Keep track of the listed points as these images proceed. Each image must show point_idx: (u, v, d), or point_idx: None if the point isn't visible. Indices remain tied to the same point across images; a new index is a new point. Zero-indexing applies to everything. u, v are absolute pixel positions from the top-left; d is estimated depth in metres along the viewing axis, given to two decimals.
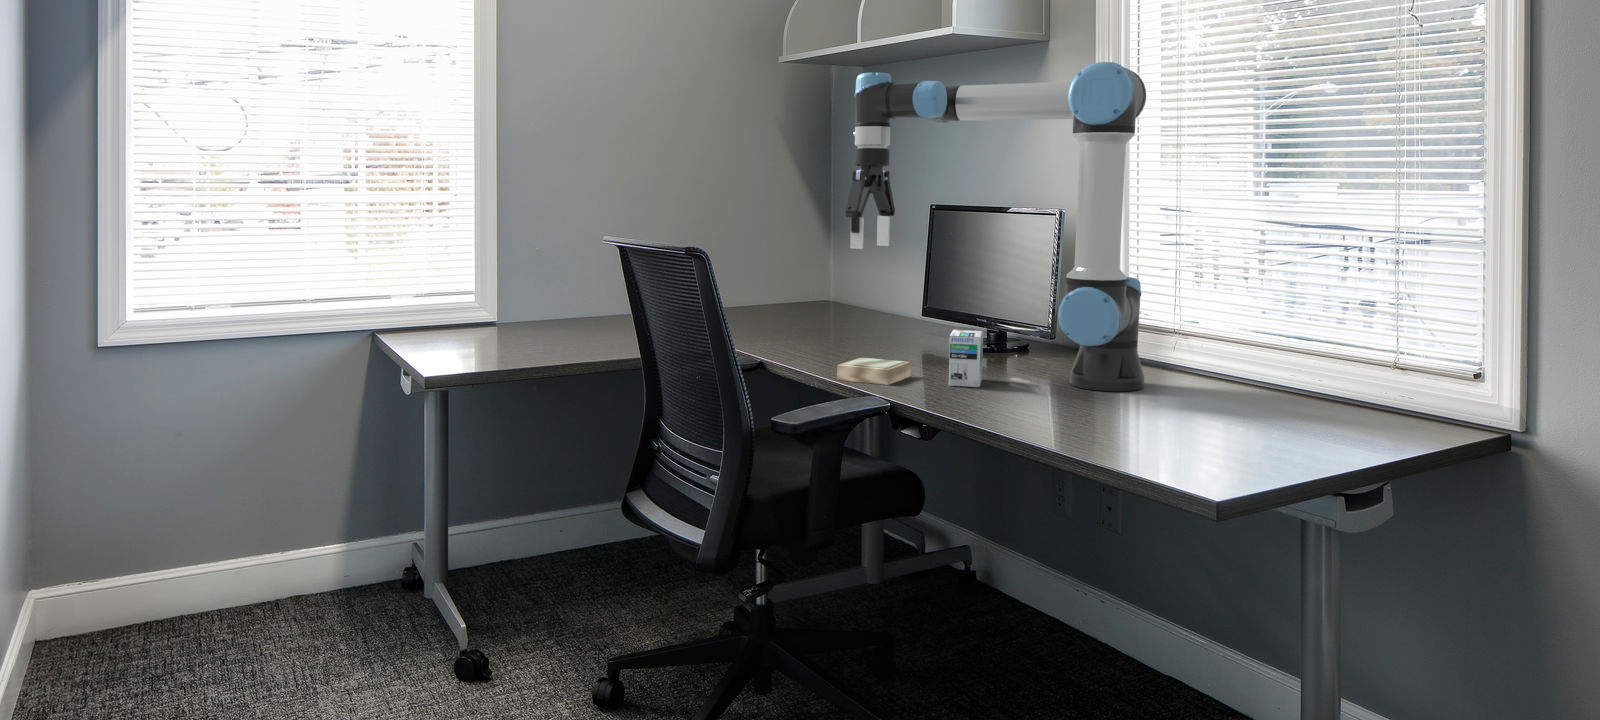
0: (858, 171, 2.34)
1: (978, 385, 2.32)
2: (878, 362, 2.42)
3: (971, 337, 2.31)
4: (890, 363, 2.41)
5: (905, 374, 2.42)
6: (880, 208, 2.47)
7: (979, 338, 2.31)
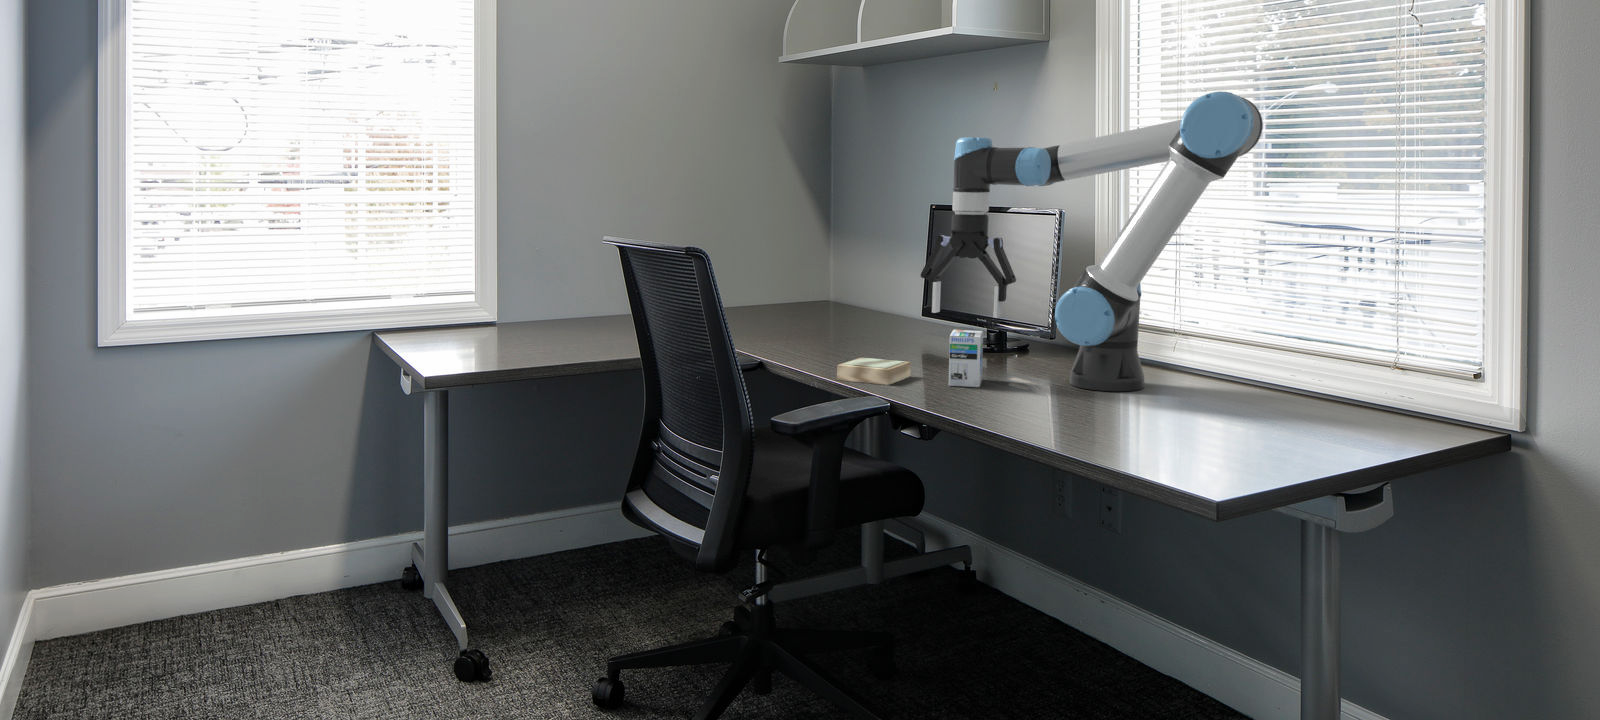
0: None
1: (978, 385, 2.32)
2: (878, 362, 2.42)
3: (971, 337, 2.31)
4: (890, 363, 2.41)
5: (905, 374, 2.42)
6: None
7: (979, 338, 2.31)
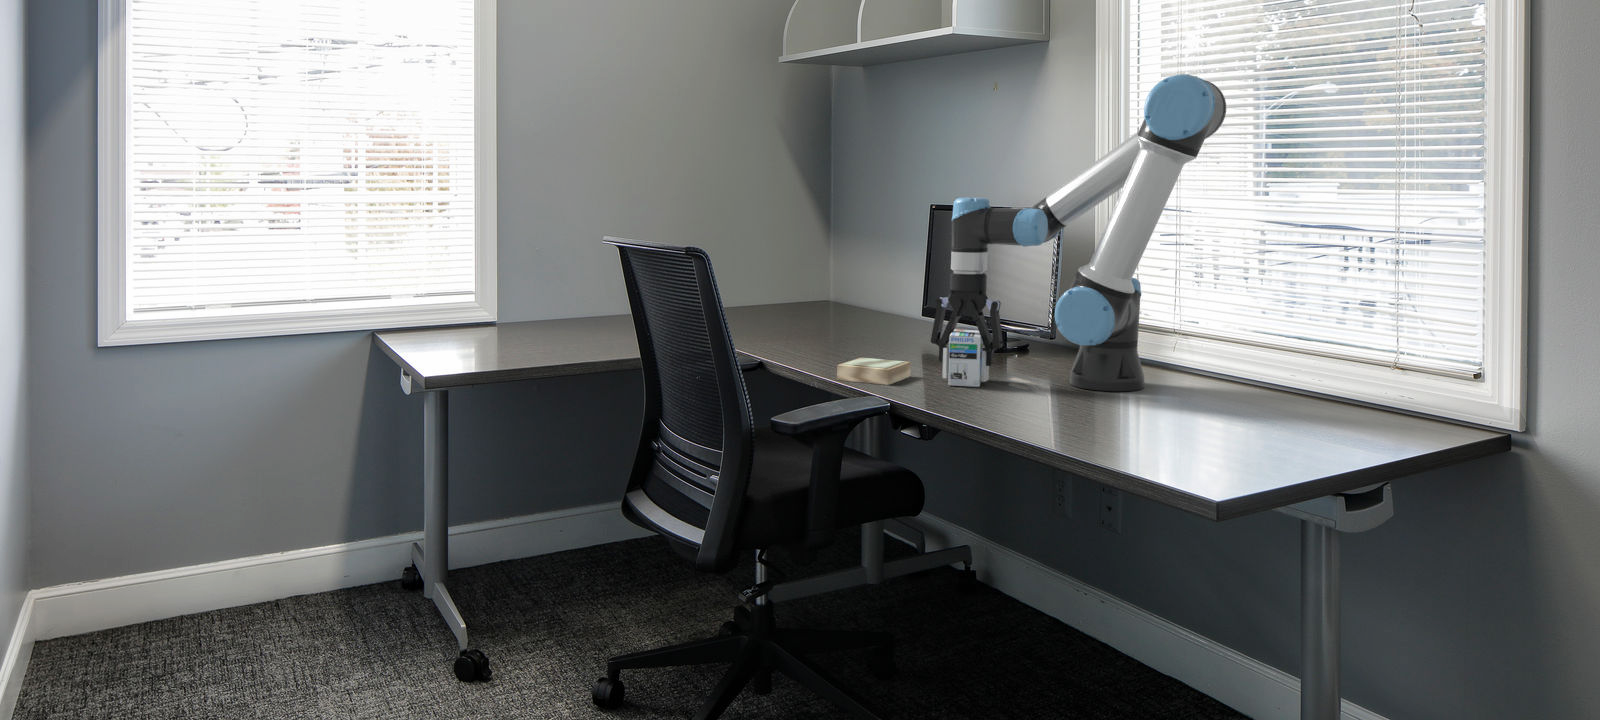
0: None
1: (978, 385, 2.32)
2: (878, 362, 2.42)
3: (971, 337, 2.31)
4: (890, 363, 2.41)
5: (905, 374, 2.42)
6: None
7: (979, 338, 2.31)
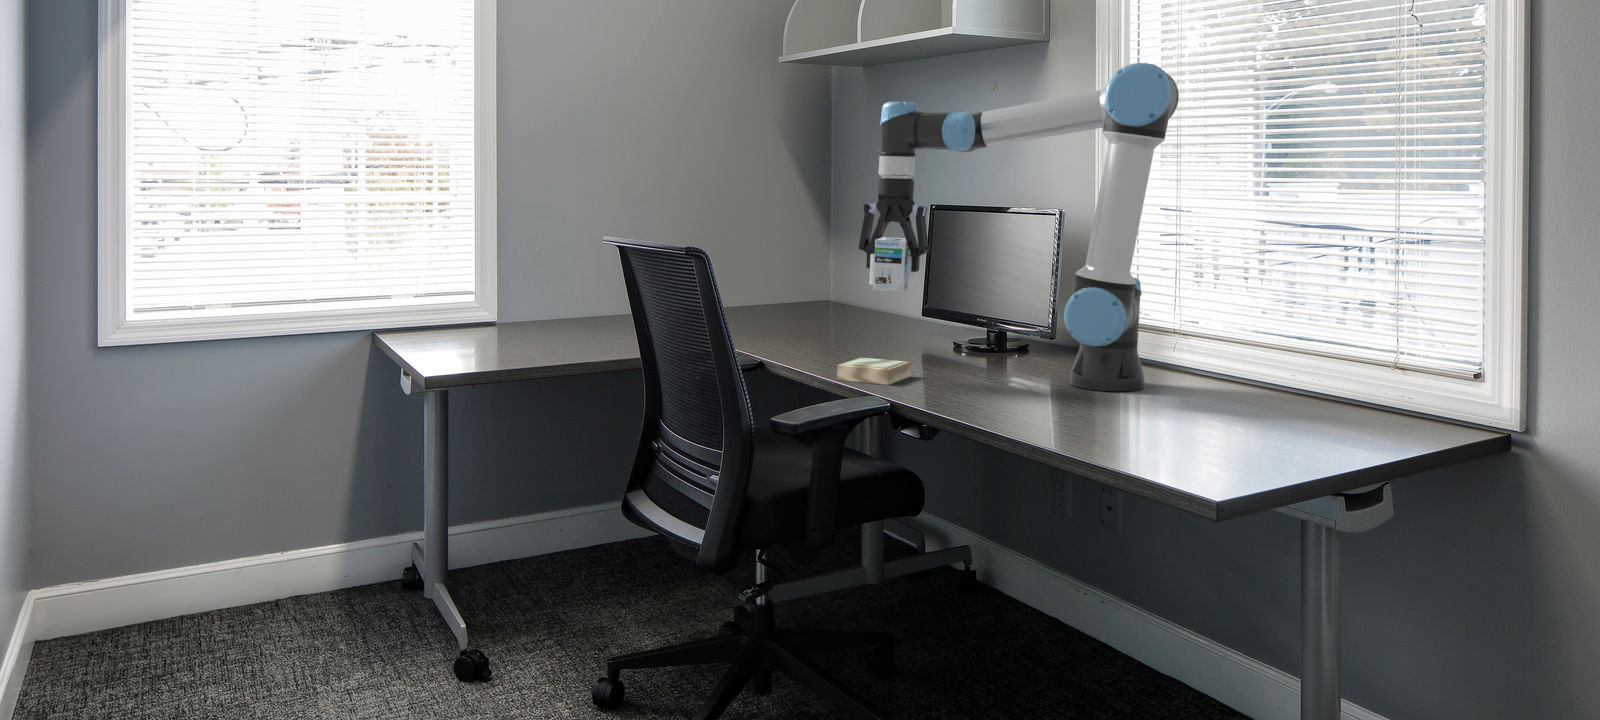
0: None
1: (902, 290, 2.33)
2: (878, 362, 2.42)
3: (896, 241, 2.32)
4: (890, 363, 2.41)
5: (905, 374, 2.42)
6: None
7: (904, 242, 2.32)
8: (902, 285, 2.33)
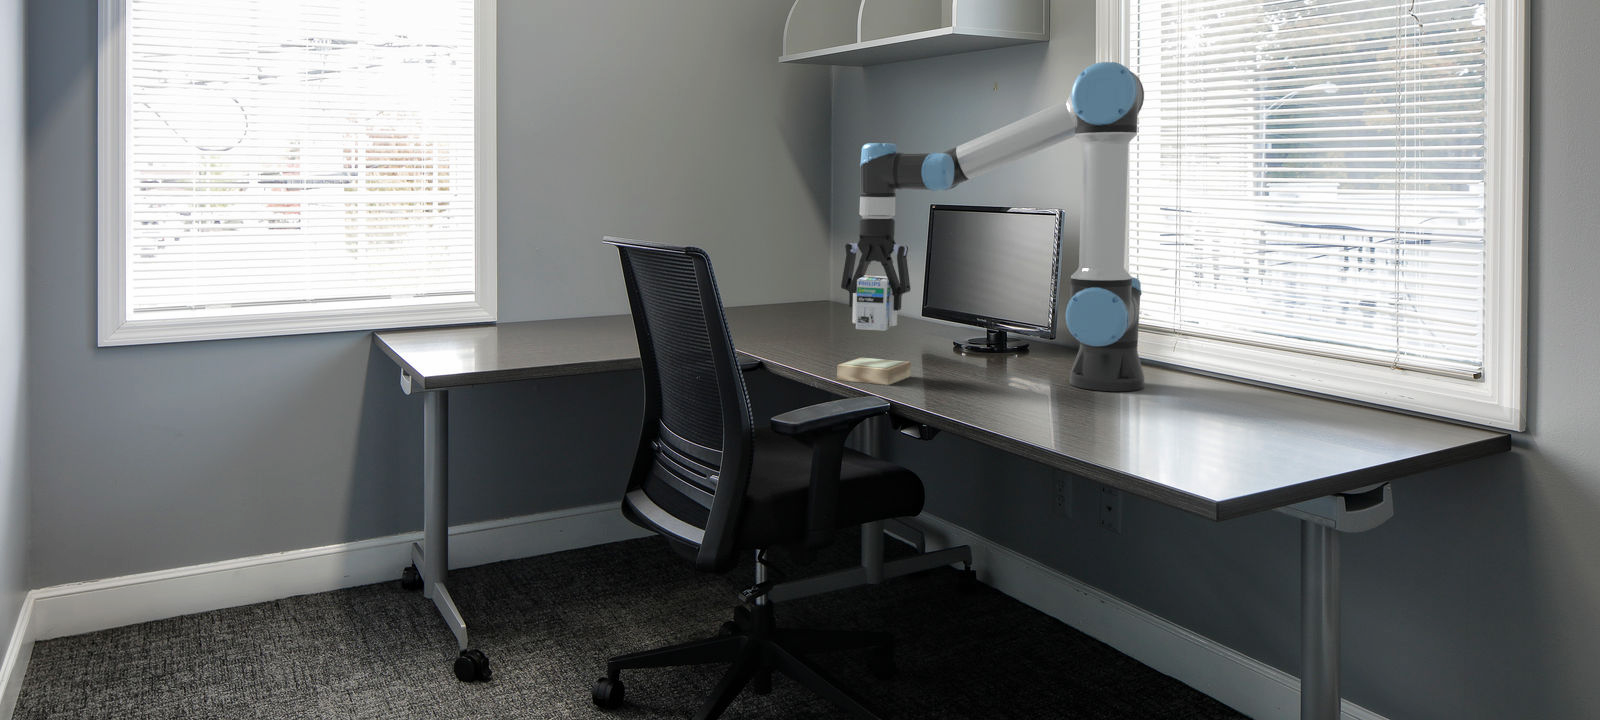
0: None
1: (884, 328, 2.35)
2: (878, 362, 2.42)
3: (878, 281, 2.34)
4: (890, 363, 2.41)
5: (905, 374, 2.42)
6: None
7: (885, 282, 2.34)
8: (884, 324, 2.35)
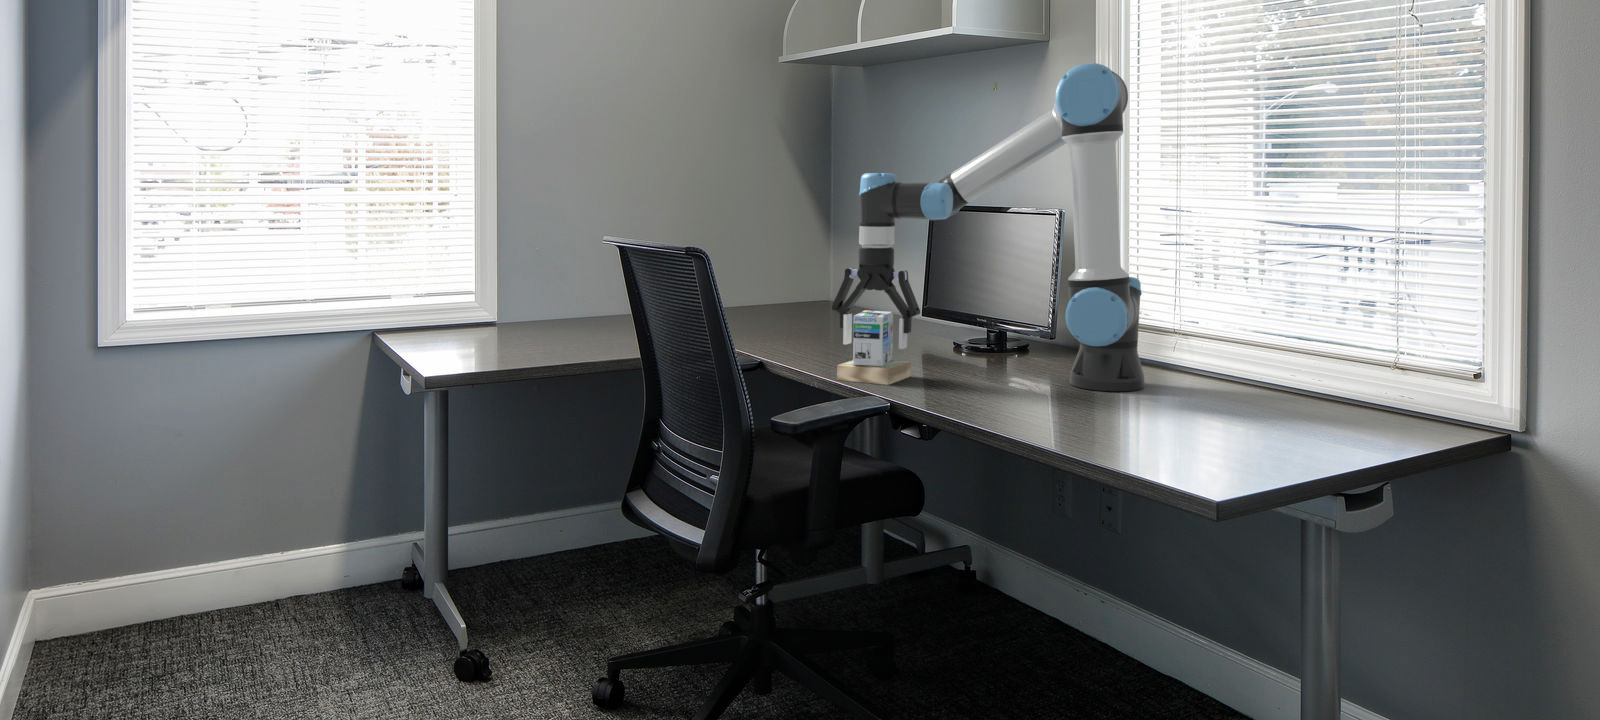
0: None
1: (881, 364, 2.36)
2: None
3: (874, 317, 2.35)
4: (890, 363, 2.41)
5: (905, 374, 2.42)
6: None
7: (881, 318, 2.35)
8: (881, 360, 2.36)
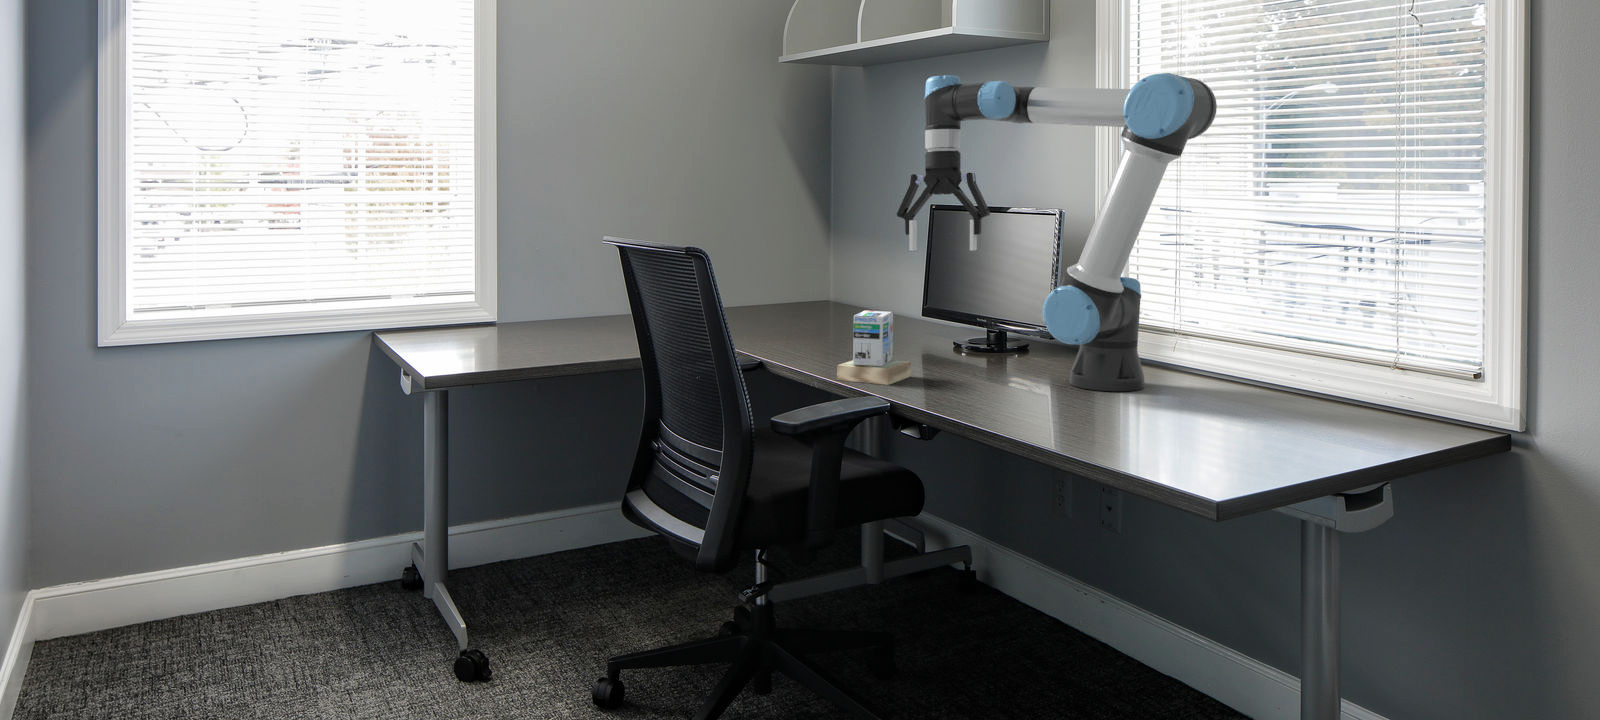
0: None
1: (881, 364, 2.36)
2: None
3: (874, 317, 2.35)
4: (890, 363, 2.41)
5: (905, 374, 2.42)
6: None
7: (881, 318, 2.35)
8: (881, 360, 2.36)
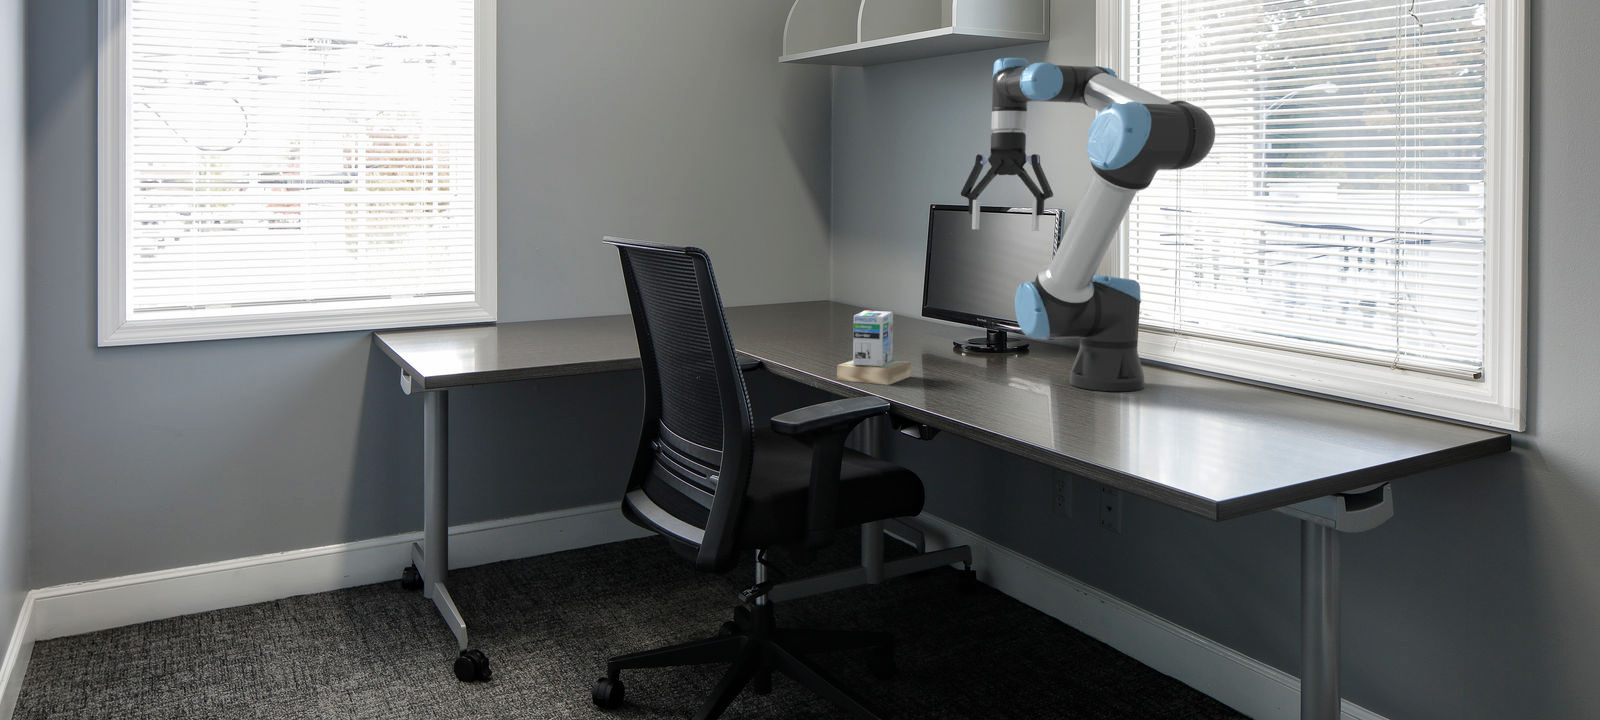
0: None
1: (881, 364, 2.36)
2: None
3: (874, 317, 2.35)
4: (890, 363, 2.41)
5: (905, 374, 2.42)
6: None
7: (881, 318, 2.35)
8: (881, 360, 2.36)
